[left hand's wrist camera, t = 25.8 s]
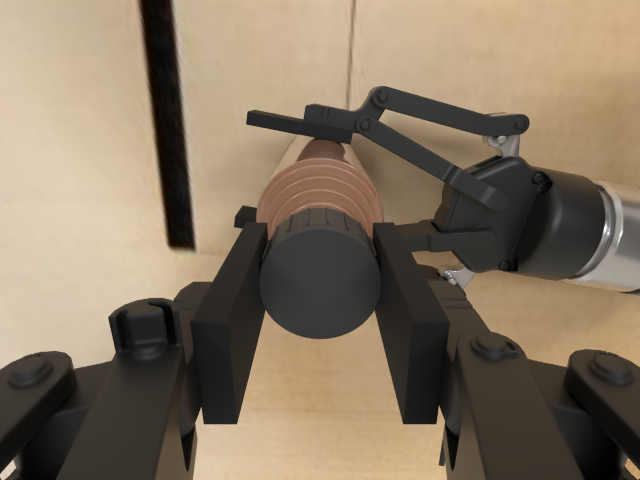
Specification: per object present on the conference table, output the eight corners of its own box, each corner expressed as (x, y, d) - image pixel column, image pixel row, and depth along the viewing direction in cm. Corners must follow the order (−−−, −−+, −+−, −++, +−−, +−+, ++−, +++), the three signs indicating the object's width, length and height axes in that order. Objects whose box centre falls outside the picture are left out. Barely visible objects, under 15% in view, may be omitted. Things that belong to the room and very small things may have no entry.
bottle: (369, 173, 33) (443, 292, 13) (312, 213, 34) (302, 376, 14) (328, 113, 31) (342, 147, 12) (269, 157, 32) (192, 257, 13)
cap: (370, 199, 14) (379, 218, 11) (378, 299, 15) (388, 334, 13) (257, 212, 14) (246, 234, 12) (275, 310, 15) (268, 346, 13)
